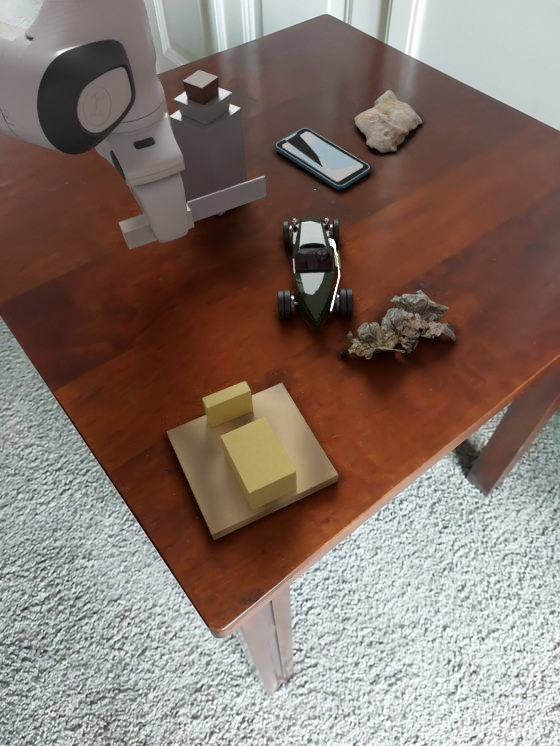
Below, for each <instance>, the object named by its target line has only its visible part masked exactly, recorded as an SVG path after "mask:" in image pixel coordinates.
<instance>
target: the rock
mask: <svg viewBox="0 0 560 746" xmlns="http://www.w3.org/2000/svg"><path fill="white" fill-rule="evenodd" d="M389 302H390V303H393V304H394V305H395V307H392V308H391V307H389V308H388V309H386V314H385V315H384V316H383V317H382V318H381V324H379V323H378V322H377V321H373V322H371V323H370V322H366V321H364V322H363V323H361V324H360V326H358V327H357V328H356V333H357V337H354V338H353V333H352V331H351V330H349V331H348V333H347V335H346V336H345V338H346V339H348V341H350V342H351V344H352V345H351V346H350V348H345V349H344V350H343V351H340V352H339V355H342V357H343V356H347V355H348V354H349V355H351V354H354V353H355V354H356V356H357V357H364V358H365V359H366V360H370V359H371V358H373V357H374V355H373V354H379V353H388V352H391V353H392V352H393V353H394V352H397V353H400V355H406V354H412V352H414V351H416V350H417V349H418V345H419V343H420V340H419V337H422V338H427V339H435V337H440V336H441V334H442V333H443V334H444V335H446V336H447V337H450V338H451V340H453V341H454V342H456V335H455V333H456V330H455V329H454V328H453V326H451V324H449V322H444V323H443V322H442V323H441V322H440V320H441V319H444V317H445V316H444V314H445V312H446V313H447V312H448V310H449V308H450V307H448V306H446V305H442V304H440V303H438V302H435V301H433V300H431V299H430V298H429V296H428V295H426V293H424V292H423V291H422V290H421V289H419V290H417V291H415V294H413V293H412V294H411V293H403V294H401V296H398V295H397V294H395V295H393V296H391V299H390V300H389ZM398 344H399V345H402V348H404V350H401V349H396V348H395V347H396V345H398Z"/></svg>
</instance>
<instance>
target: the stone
mask: <svg viewBox="0 0 560 746" xmlns="http://www.w3.org/2000/svg"><path fill="white" fill-rule="evenodd" d="M353 120H354V122H355V123H354V125H355V126H356V127H357V128H358V129H359V131H360V132H361V133H362V134H364V136H365V137H366V143H365V144H366V145H367V146H369V148H370V149H375V150H377V151H379V152H380V153H388V152H397V150H398V149H397V146H399V145H401V144H402V143H403V142H404V141H405V139H406V138H407V136H409V133H410V131H413V130H415V129H417V127H418V125H420V124H423V120H422V118H421V117H420V116H419V115H418V113H417V112H416V111H415V110H414V109H413V107H412V106H411V105H410V104H409V103H407V102H404V101H400V100H399V99H398V97H397V96H396V94H395V93H394V91H392V90H390V89H388V90H386V91H385V92H384V93H383V94H381V96H379V97H378V98H377V99H376V100H374V103H373V107H372V108H369V109H366V110H364V111H363V112H361V113H359V114H358V115H356V116H355V117H354V119H353Z"/></svg>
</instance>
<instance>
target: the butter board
mask: <svg viewBox="0 0 560 746" xmlns="http://www.w3.org/2000/svg"><path fill="white" fill-rule="evenodd" d="M251 395H252V403H253V411H252V412H250V413H247V414H245V415H243V416H240V417H238V418H235V419H233V420H230V421H228V422H226V423H223V424H221V425H218V426H216V427H213V428H211V426H210V424H209V422H208V419H207V417H206V414H205V415H202V416H200V417H197V418H195V419H193V420H191V421H187V422H186V423H184V424H180V425H179V426H176V427H173V428H171V429H169V430H167V431H166V435H167V437H168V439H169V442H170V444H171V446H172V449H173V451H174V453H175V455H176V458H177V460H178V463H179V464H180V467H181V470H182V472H183V474H184V476H185V478H186V481H187V483H188V485H189V487H190V491H191V492H192V494H193V497H194V499H195V501H196V504H197V507H198V508H199V510H200V512H201V515H202V518H203V519H204V522H205V524H206V526H207V529H208V531H209V533H210V536H211V538H212V540H213V541H216V540H218V539H220V538H222V537H224V536H226V535H229V534H231V533H233V532H234V531H237V530H239V529H241V528H244V527H245V526H247V525H249V524H251V523H253V522H255V521H258V520H260V519H262V518H263V517H264V518H265V517H266V516H269V515H270V514H272V513H274V512H277V511H279V510H281V509H283V508H286V507H287V506H289V505H291V504H293V503H295V502H297V501H299V500H301V499H304V498H306V497H308V496H310V495H313V494H314V493H317V492H318V491H320V490H322V489H325V488H327V487H329V486H331V485H333V484H335V483H338V481H339V473H338V472H337V470H336V468H335V467H334V466H333V463H332V462H331V461H330V459H329V457H328V456H327V454H326V452H325V450H324V449H323V447H322V446H321V444H320V442H319V441H318V439H317V438H316V436H315V434H314V433H313V431H312V429H311V428H310V426H309V424H308V423H307V421H306V420H305V418H304V415H303V414H302V413H301V411H300V409H299V407H298V406H297V404H296V403H295V402H294V400H293V398H292V397H291V395H290V393H289V392H288V390H287V388H286V386H285V385H284V383H283V382H279V383H278V384H275V385H273V386H271V387H268V388H266V389H264V390H261V391H259V392H257V393H254V394H251ZM263 417H266V419H267V420H268V422H269V424H270V426H271V428H272V429H273V431H274V433H275V435H276V436H277V438H278V440H279V442H280V444H281V445H282V447H283V449H284V451H285V452H286V454H287V456H288V458H289V459H290V461H291V463H292V465H293V467H294V468H295V470H296V482H297V489H296V490H294V491H292V492H290V493H288V494H286V495H284V496H281V497H279V498H277V499H275V500H273V501H271V502H269V503H267V504H265V505H262V506H260V507H258V508H256V509H254V510H251V508H250V506H249V503H248V501H247V499H246V497H245V495H244V493H243V491H242V489H241V487H240V485H239V483H238V481H237V479H236V477H235V475H234V473H233V471H232V469H231V467H230V465H229V463H228V461H227V459H226V457H225V455H224V450H223V446H222V442H221V437H220V436H221V435H224V434H226V433H228V432H230V431H233V430H235V429H237V428H240V427H242V426H244V425H247V424H249V423H251V422H253V421H256V420H258V419H260V418H263Z"/></svg>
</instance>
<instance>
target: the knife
mask: <svg viewBox="0 0 560 746" xmlns="http://www.w3.org/2000/svg"><path fill="white" fill-rule="evenodd" d="M267 196H268V194H267V183H266V175H262V176H259V177H256V178H253V179H250V180H247V182H244V183H241V184H238V185H235V186H232V187H229V188H226V189H223V190H220V191H217V192H214V193H211V194H209V195H206V196H203V197H200V198H197V199H194V200H191V201H186V205H187V213H188V222H189V230H191V229H193V228H195V222H198V221H200V220H204V219H206V218H209V217H212V216H215V215H217V214H218V213H221V212H223V211H226V210H227V211H229V210H232V209H235V208H238V207H240V206H243V205H246V204H249V203H251V202H255V201H258V200H261V199H264V198H266V197H267ZM227 211H226V212H227ZM118 225H119V228H120V232H121V234H122V237H123V239H124V242H125V243H126V246H127V248H128V249H129V250H134V249H136V248H139V247H142V246H145V245H148V244H150V243H154V242H156V241H158V240H157V238H156V237H155V235H154V233H153V231H152V229H151V227H150V225H149V223H148V222H147V220H146V218H145V216H144V214H143V213H142V214H139V215H136V216H133V217H130V218H126V219H124V220H121V221H118Z"/></svg>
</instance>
